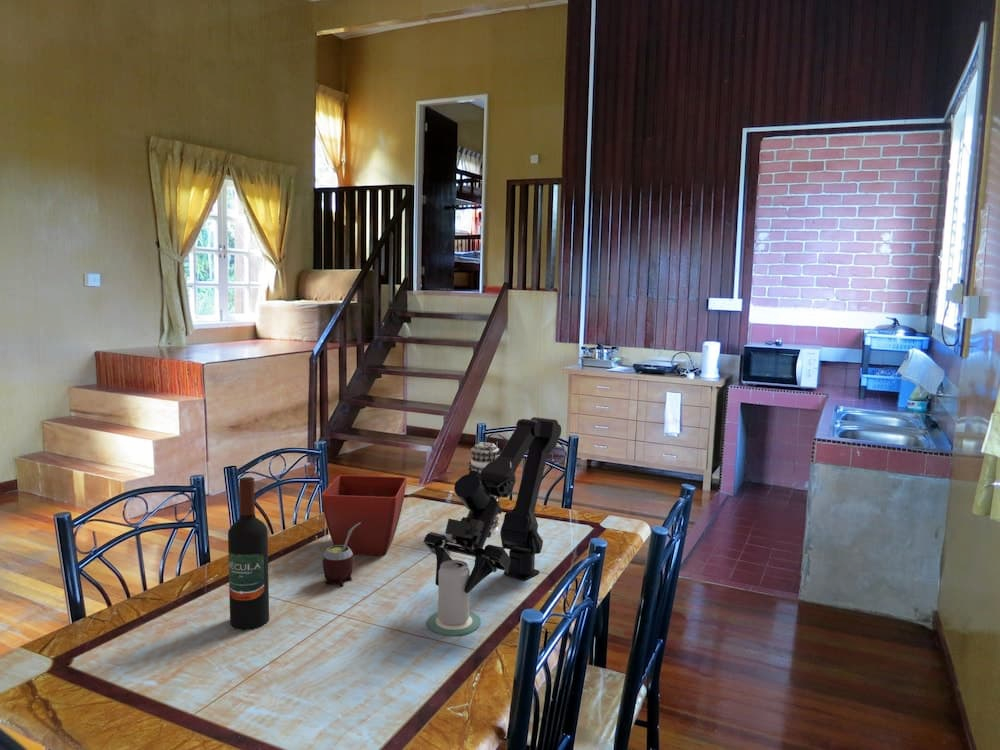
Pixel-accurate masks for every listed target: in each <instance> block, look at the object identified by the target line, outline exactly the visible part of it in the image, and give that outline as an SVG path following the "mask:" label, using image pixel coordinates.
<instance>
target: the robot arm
mask: <svg viewBox="0 0 1000 750" xmlns="http://www.w3.org/2000/svg"><path fill="white" fill-rule="evenodd" d="M561 434H562V426H561V424H559V422H558V420H557V419H553V418H547V417H546V418H544V417H536V416H533V417H531V419H527V418H520V419H518V420H517V422H516V425H515V429H514V431H513V433H512V434H511V436H510V437H509V439H508V441H507V442H506V444H505V446H504V447H503V449H501V450H502V451H501V452H500V453H499V454H498V458H497V459H496V460H494V461H492V462H490V463H488V464H487V465H486V466H485V468H484V469H483V470H482V471H481V473H479V471H474V470H470V472H468V474H465V475H462V476H461V477H460V478H458V479H457V480H456V481H455V483H454V487H453V489H454V493H455V494H456V496H457V498H458V499H459V500H460V501H461V503H462V504H463V506H464V507H465V508H466V509H467V510H469V511H468V513H467V515H466V517H464V516H463V517H462V518H461V519H460V520H459V519H458V520H457V519H453V518H448V520H447V524H446V528H445V532H444V534H442V533H437V532H433V531H430V532H429V533H427V534H426V535H425V536H424V540H423V544H424V545H425V546H426V547H427V548H428V549H429V551H430V552H431V554H434V555H435V556H436V557H435V559H436V566H435V567H436V571H435V585H436V586H437V587H438V584H439V569H440V568H441V567H440V565H441V563H443V562H445V561H449V560H453V559H452V557H451V556H450V555H451V553H455V554H460V555H465V556H468V557H469V556H470V557H473V558H474V565H473V567H472V570H471V572H470V577H469V579H468V581H467V584H466V587H465V590H464V591H465V593H469V594H470V592H471V591H472V590H473V589H474V588H475V587H476V586H477V585H478V584H479V583H481V581H483V580H484V579H486V577H488V576H489V575H491V573H496V572H497V570H501V571H503V574H504V575H507V576H510V577H513V578H515V579H518V580H522V581H526V580H528V579H530V578H533V577H534V576H536V575H538V574H539V573H540V570H538V569H535V564H536V563H535V561H536V559H535V558H536V557H535V556H536V555H537V554H538V555H539V554H541V553H542V550H543V546H544V545H543V544H544V540H543V539H542V537H541V536H540V534H539V533H538V528H539V527H538V526H539V523H538V520H537V518H536V515H535V514H536V513H535V511H536V507H537V502H538V498H539V493H540V489H541V484H542V481H543V475H544V471H545V467H546V462H547V458H548V455H550V454H551V452H552V451H553V450H554V449H555V448H557V445H558V441H559V438H560V437H561V436H562V435H561ZM526 453H527V456H526V459H525V463H524V467H523V472H522V477H521V480H520V484H519V488H518V493H517V497H516V500H515V505H514V507H513V508H512V509H511V511H506V512H505V514H504V517H503V521H502V522H503V523H502V524H501V528H500V533H499V536H500V541H501V545H502V546H498V545H493V544H489V543H488V544H487V545H485V544H486V541H487V538H490V539H491V536H492V533H491V532H490V529H491V526H492V524H493V521H494V519H495V516H496V514H497V513H498V515H499V514H500V515H501V514H502V507H501V504H500V501H499V500H498V501H496V499H495V498H494V497H492V496H497V498H501V499H504V498H509V496H510V495H511V493H512V492H513V490H514V487H515V485H516V481H517V479H516V471H517V469H518V467H519V465H520V463H522V460H523V458H524V457H525V455H526ZM490 495H491V496H490ZM446 535H451V538H452V540H453V541H455V542H452V541H450V540H449V539H448V538H447V537H446ZM505 549H506V550H508V551H509V553H507V551H506V550H505Z"/></svg>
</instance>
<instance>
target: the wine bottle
mask: <svg viewBox="0 0 1000 750" xmlns="http://www.w3.org/2000/svg"><path fill="white" fill-rule="evenodd" d="M238 483H239V485H238V487H239V518H238V519H237V520H236V521H234V523H233V524H231V526H230V527H229V529H228V533H227V544H228V545H227V548H228V549H227V550H228V551H227V552H228V586H229V587H228V589H229V592H228V594H229V596H228V597H229V624H230V627H231V626H232V627H233V628H232V627H231V628H232V629H234V628H235V630H237V629H241V630H240V631H247V630H246V629H251V630H255V629H254V628H256V629H259V628H262V627H263V625H264V624H265V625H267V624H268V623H269V622H270V621H269V620H270V597H269V596H270V593H269V591H270V590H269V588H270V587H269V584H270V583H269V538H268V536H269V535H268V533H269V532H268V528H267V526H266V524H265V523H264V521H262V520H261V519H259V518H257V515H256V511H255V510H256V507H255V504H256V503H255V478H254V477H251V476H247V477H240V478H239V482H238ZM267 622H268V623H267ZM265 625H264V626H265ZM261 626H262V627H261ZM258 627H259V628H258Z"/></svg>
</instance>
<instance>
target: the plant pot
mask: <svg viewBox="0 0 1000 750" xmlns="http://www.w3.org/2000/svg"><path fill="white" fill-rule="evenodd" d="M328 485H329V486H328V487H326V488H325V489H324V491H323V492H322V493H321V494H320V497H321V498H320V499H321V503H322V510H323V515H324V519H325V522H326V526H327V530H328V533H329V536H330V539H331V542H332V544H333V545H332V546H336V545H344V544H345V541H346V538H347V535H348V531H349V530H350V529H351V528H352V527H353V526H355V525H356V524H358V523H360V522H361V523H360V524H359V525H358V526H357V527H355V528H354V529H353V530H352V533H351V535H350V537H349V540H348V542H347V545H346V546H348V547H349V548H350V549H351V551H352V552H353V556H354V555H359V556H361V555H362V556H385V555H386V554H387V552H388V551H389V548H390V546H391V544H392V542H393V540H394V538H395V534H396V532H397V527H398V525H399V521H400V517H401V514H402V510H403V509H402V508H403V505H404V504H403V503H404V498H405V494H406V489H407V488H406V487H407V477H406V476H405V477H404V476H402V477H401V476H381V475H380V476H379V475H378V476H376V475H351V474H350V475H348V474H346V475H345V474H344V475H343V474H342V475H341V474H340V475H337V477H336V478H335V479H334V480H333V481H332V482H331V483H330V484H328Z"/></svg>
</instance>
